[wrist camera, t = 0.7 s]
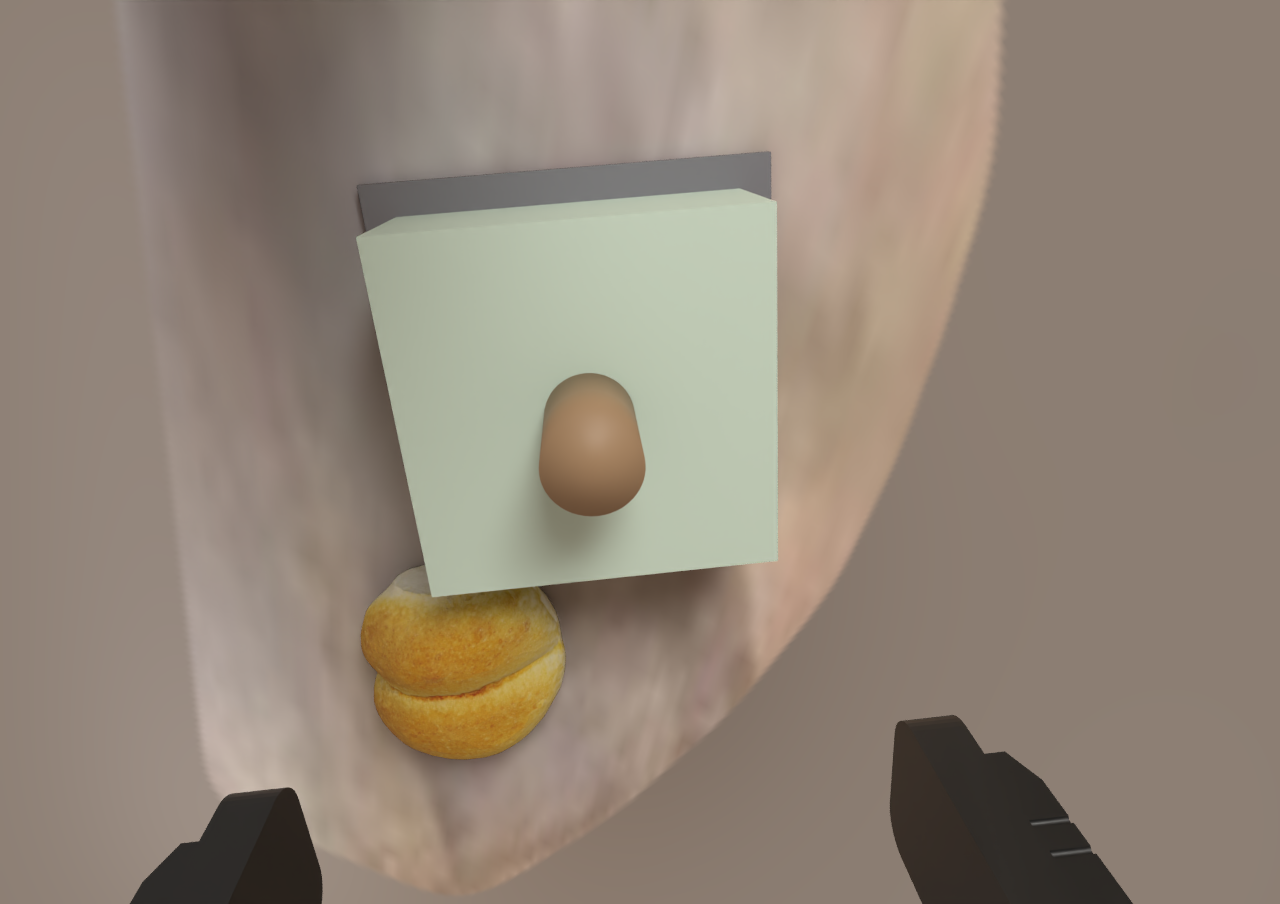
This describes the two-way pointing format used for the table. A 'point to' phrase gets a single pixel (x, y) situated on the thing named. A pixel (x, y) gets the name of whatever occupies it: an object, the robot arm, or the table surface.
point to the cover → (583, 385)
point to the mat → (564, 186)
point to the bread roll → (462, 665)
